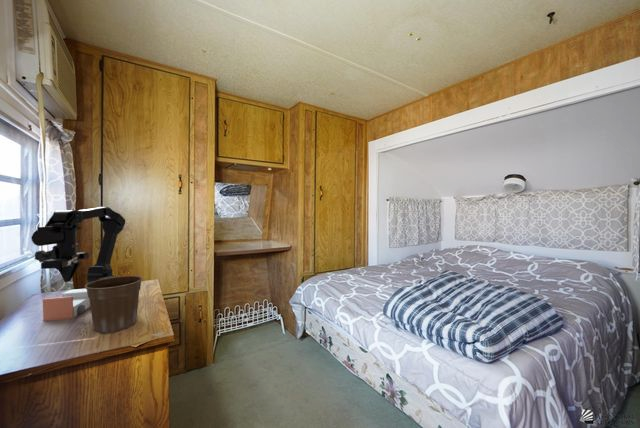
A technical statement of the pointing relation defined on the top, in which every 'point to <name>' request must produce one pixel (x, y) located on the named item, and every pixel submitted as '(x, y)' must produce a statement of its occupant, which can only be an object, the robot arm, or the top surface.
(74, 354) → the top surface
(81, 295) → the white stepped block
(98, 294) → the plant pot
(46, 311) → the tailgate
